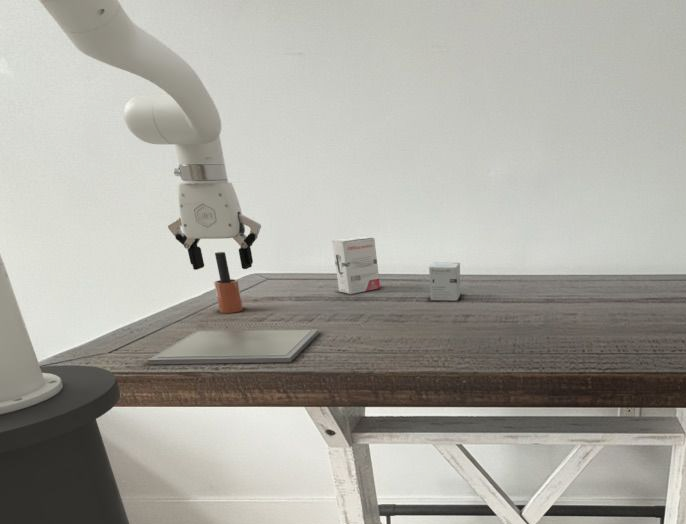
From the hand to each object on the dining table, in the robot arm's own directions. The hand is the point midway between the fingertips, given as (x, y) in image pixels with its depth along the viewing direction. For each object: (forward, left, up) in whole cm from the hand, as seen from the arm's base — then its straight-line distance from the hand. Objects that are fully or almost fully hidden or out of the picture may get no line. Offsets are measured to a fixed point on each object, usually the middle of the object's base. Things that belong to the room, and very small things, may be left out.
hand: (223, 268), depth 110 cm
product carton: (+9, -43, -9) cm, 45 cm away
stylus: (0, 0, -8) cm, 8 cm away
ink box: (+18, -22, -9) cm, 30 cm away
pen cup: (0, 0, -9) cm, 9 cm away
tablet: (-25, -12, -9) cm, 29 cm away
